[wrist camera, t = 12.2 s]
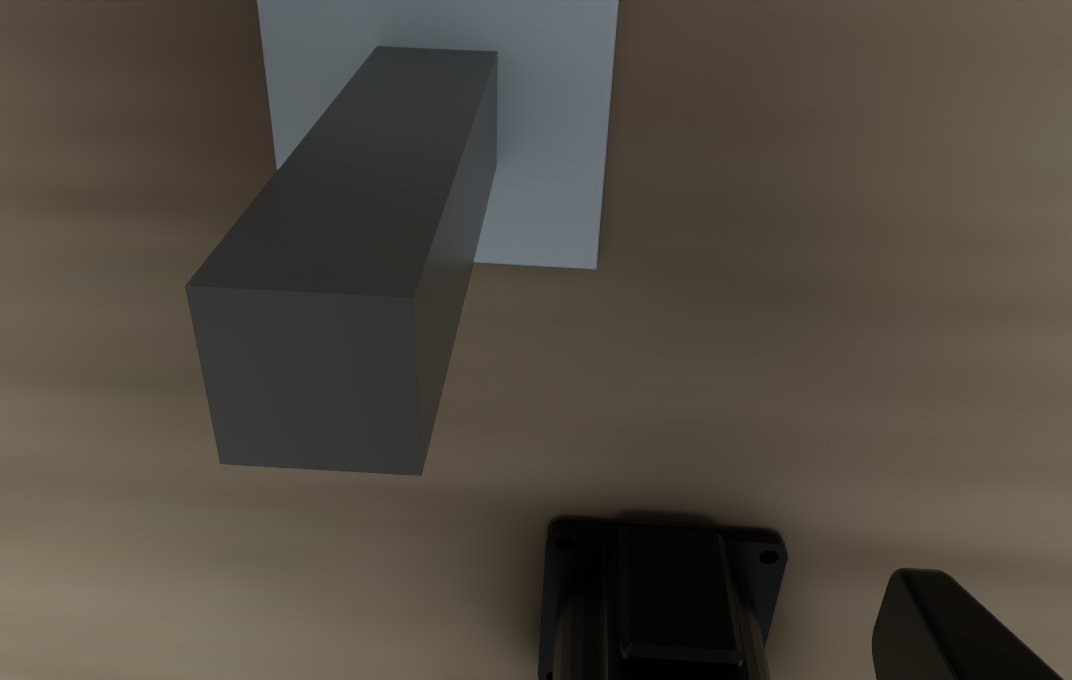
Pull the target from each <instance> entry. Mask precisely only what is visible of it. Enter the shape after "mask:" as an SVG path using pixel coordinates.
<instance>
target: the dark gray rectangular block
mask: <svg viewBox="0 0 1072 680" xmlns="http://www.w3.org/2000/svg"><path fill="white" fill-rule="evenodd" d="M497 63H498V52H497V51H475V50H452V49H430V48H408V47H385V46H377V47H376V48H375V49H374V50H373V52H372V53H371V54H370V55H369V57H368V58H367V59H366V60H365V62H364V63H363V64H362V65H361V67H360V68H359V69H358V70H357V72H356V73H355V74H354V75H353V77H352V78H351V79H350V80H349V82H348V83H347V84H346V85H345V87H344V88H343V89H342V90H341V92H340V93H339V94H338V95H337V97H336V98H335V99H334V100H333V102H332V103H331V104H330V105H329V107H328V108H327V109H326V110H325V112H324V113H323V114H322V115H321V117H320V118H319V119H318V120H317V122H316V123H315V124H314V125H313V127H312V128H311V129H310V130H309V132H308V133H307V134H306V135H305V137H304V138H303V139H302V140H301V142H300V143H299V144H298V146H297V147H296V148H295V149H294V151H293V152H292V153H291V154H290V156H289V157H288V158H287V159H286V161H285V162H284V163H283V164H282V166H281V167H280V168H279V169H278V171H277V172H276V173H275V174H274V176H273V177H272V178H271V179H270V181H269V182H268V183H267V184H266V186H265V187H264V188H263V189H262V191H261V192H260V193H259V194H258V196H257V197H256V198H255V199H254V201H253V202H252V203H251V204H250V206H249V207H248V208H247V209H246V211H245V212H244V213H243V214H242V216H241V217H240V218H239V219H238V221H237V222H236V223H235V224H234V226H233V227H232V228H231V229H230V231H229V232H228V233H227V234H226V236H225V237H224V238H223V239H222V241H221V242H220V243H219V244H218V246H217V247H216V248H215V249H214V251H213V252H212V253H211V254H210V256H209V257H208V258H207V259H206V261H205V262H204V263H203V264H202V266H201V267H200V268H199V270H198V271H197V272H196V273H195V275H194V276H193V277H192V278H191V280H190V281H189V282H188V283H187V285H186V291H187V297H188V302H189V307H190V312H191V317H192V322H193V327H194V332H195V337H196V342H197V347H198V353H199V358H200V363H201V368H202V373H203V378H204V383H205V388H206V393H207V398H208V404H209V409H210V414H211V419H212V424H213V429H214V434H215V439H216V444H217V449H218V455H219V460H220V464H229V465H246V466H263V467H280V468H298V469H315V470H332V471H349V472H367V473H384V474H401V475H418V476H422V472H423V468H424V464H425V460H426V456H427V451H428V447H429V443H430V439H431V435H432V431H433V427H434V423H435V419H436V414H437V410H438V406H439V402H440V398H441V394H442V390H443V386H444V382H445V377H446V373H447V369H448V365H449V361H450V357H451V353H452V349H453V344H454V340H455V336H456V332H457V328H458V324H459V320H460V316H461V312H462V307H463V303H464V299H465V295H466V291H467V287H468V283H469V279H470V274H471V270H472V266H473V262H474V258H475V254H476V250H477V246H478V242H479V237H480V233H481V229H482V225H483V221H484V217H485V213H486V209H487V204H488V200H489V196H490V192H491V188H492V184H493V180H494V176H495V172H496V167H497Z"/></svg>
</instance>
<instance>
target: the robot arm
mask: <svg viewBox="0 0 1072 680" xmlns="http://www.w3.org/2000/svg"><path fill="white" fill-rule="evenodd" d="M560 537H568V538H570V539H569V540H561V539H559V538H560ZM768 550H772V552H770V553H762V552H764V551H768ZM787 559H788V556H787V549H786V546H785V542H784V541H783V539H782V538H781V537H780V536H778V535H777V534H772V533H762V532H747V531H731V530H716V529H700V528H685V527H670V526H654V525H639V524H623V523H608V522H593V521H577V520H558V521H556V522H554V523H552V524H551V525H550V526H549V527H548V530H547V535H546V551H545V568H544V584H543V600H542V617H541V633H540V649H539V666H538V678H539V680H770V675H769V670H768V665H767V660H766V655H765V650H764V648H765V644H766V640H767V637H768V633H769V629H770V625H771V621H772V617H773V613H774V609H775V605H776V601H777V598H778V594H779V590H780V586H781V582H782V578H783V574H784V570H785V566H786V562H787ZM872 655H873V662H874V667H875V673H876V679H877V680H1064V679H1062V678H1061V677H1060V676H1059V675H1058V674H1057V673H1056V672H1055V671H1054V670H1053V669H1051V668H1050V667H1049V666H1048V665H1047V664H1046V663H1045V662H1044V661H1043V660H1042V659H1041V658H1039V657H1038V656H1037V655H1036V654H1035V653H1034V652H1033V651H1032V650H1031V649H1030V648H1029V647H1027V646H1026V645H1025V644H1024V643H1023V642H1022V641H1021V640H1020V639H1019V638H1018V637H1017V636H1015V635H1014V634H1013V633H1012V632H1011V631H1010V630H1009V629H1008V628H1007V627H1006V626H1005V625H1003V624H1002V623H1001V622H1000V621H999V620H998V619H997V618H996V617H995V616H994V615H992V614H991V613H990V612H989V611H988V610H987V609H986V608H985V607H984V606H983V605H982V604H980V603H979V602H978V601H977V600H976V599H975V598H974V597H973V596H972V595H971V594H970V593H968V592H967V591H966V590H965V589H964V588H963V587H962V586H961V585H960V584H959V583H958V582H956V581H955V580H954V579H953V578H952V577H951V576H949V575H948V574H946V573H945V572H943V571H940V570H933V569H915V568H901V569H897V570H896V571H894V573H893V574H892V575H891V577H890V579H889V582H888V585H887V588H886V592H885V595H884V598H883V601H882V604H881V607H880V610H879V614H878V617H877V620H876V623H875V626H874V630H873V636H872Z"/></svg>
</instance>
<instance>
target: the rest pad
mask: <svg viewBox="0 0 1072 680" xmlns="http://www.w3.org/2000/svg"><path fill="white" fill-rule="evenodd" d="M618 2H619V0H257V5H258V14H259V22H260V31H261V39H262V48H263V56H264V64H265V73H266V81H267V90H268V98H269V107H270V115H271V124H272V132H273V141H274V149H275V158H276V166H277V171H278V169H279V168H280V167H281V166H282V164H283V163H284V162H285V161H286V159H287V158H288V157H289V156H290V154H291V153H292V152H293V151H294V149H295V148H296V147H297V146H298V144H299V143H300V142H301V140H302V139H303V138H304V137H305V135H306V134H307V133H308V132H309V130H310V129H311V128H312V127H313V125H314V124H315V123H316V122H317V120H318V119H319V118H320V117H321V115H322V114H323V113H324V112H325V110H326V109H327V108H328V107H329V105H330V104H331V103H332V102H333V100H334V99H335V98H336V97H337V95H338V94H339V93H340V92H341V90H342V89H343V88H344V87H345V85H346V84H347V83H348V82H349V80H350V79H351V78H352V77H353V75H354V74H355V73H356V72H357V70H358V69H359V68H360V67H361V65H362V64H363V63H364V62H365V60H366V59H367V58H368V57H369V55H370V54H371V53H372V52H373V50H374V49H375V48H376V47H377V46H385V47H408V48H430V49H452V50H475V51H497V52H498V63H497V167H496V172H495V176H494V180H493V184H492V188H491V192H490V196H489V200H488V204H487V209H486V213H485V217H484V221H483V225H482V229H481V233H480V237H479V242H478V246H477V250H476V254H475V258H474V262H479V263H496V264H513V265H530V266H548V267H565V268H582V269H596V267H597V255H598V243H599V231H600V218H601V206H602V194H603V182H604V170H605V158H606V146H607V134H608V122H609V110H610V98H611V86H612V74H613V62H614V50H615V38H616V26H617V14H618Z"/></svg>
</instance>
